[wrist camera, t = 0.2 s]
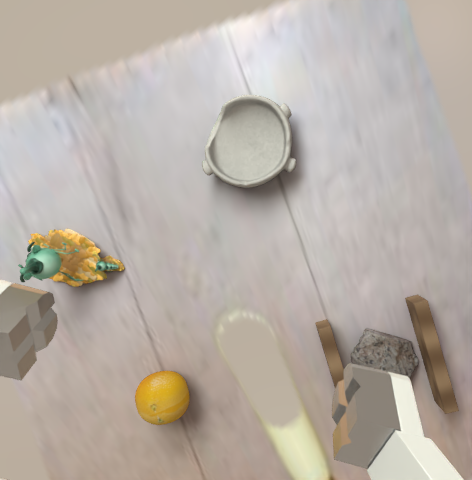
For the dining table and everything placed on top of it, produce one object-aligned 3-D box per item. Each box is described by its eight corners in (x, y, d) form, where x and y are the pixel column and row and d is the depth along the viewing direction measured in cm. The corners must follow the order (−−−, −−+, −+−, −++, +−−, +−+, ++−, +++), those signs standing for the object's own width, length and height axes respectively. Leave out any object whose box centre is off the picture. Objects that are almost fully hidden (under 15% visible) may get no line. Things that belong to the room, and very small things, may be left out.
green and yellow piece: (111, 305, 68) (57, 329, 53) (28, 261, 70) (-46, 272, 56) (132, 256, 66) (81, 266, 52) (46, 213, 69) (-25, 211, 55)
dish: (204, 184, 64) (198, 182, 59) (212, 98, 63) (207, 89, 58) (291, 192, 63) (293, 192, 58) (301, 105, 62) (304, 97, 57)
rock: (356, 323, 64) (362, 331, 60) (421, 341, 64) (432, 350, 59) (341, 373, 65) (346, 384, 61) (405, 391, 65) (415, 403, 60)
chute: (446, 397, 64) (458, 410, 60) (345, 422, 66) (350, 436, 62) (417, 294, 63) (427, 300, 59) (315, 322, 65) (318, 330, 61)
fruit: (157, 415, 69) (143, 443, 61) (136, 375, 68) (119, 398, 60) (201, 395, 68) (192, 421, 60) (180, 355, 67) (168, 375, 59)
